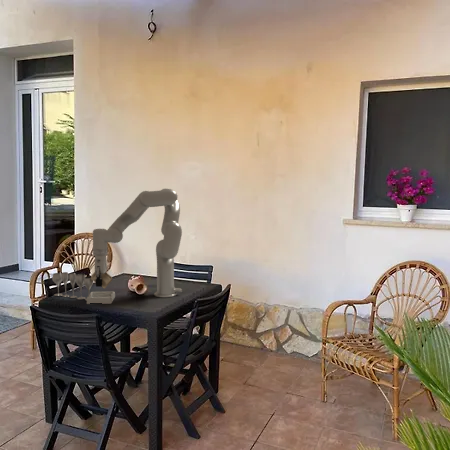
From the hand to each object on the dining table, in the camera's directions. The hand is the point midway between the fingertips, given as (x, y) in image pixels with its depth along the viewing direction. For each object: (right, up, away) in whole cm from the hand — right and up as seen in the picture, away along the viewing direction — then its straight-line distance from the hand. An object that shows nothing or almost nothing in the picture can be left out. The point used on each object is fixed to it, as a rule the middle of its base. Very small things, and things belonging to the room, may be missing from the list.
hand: (100, 284), depth 244 cm
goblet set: (-17, -8, +6) cm, 19 cm away
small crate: (-1, +1, 0) cm, 2 cm away
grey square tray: (0, -9, +1) cm, 9 cm away
